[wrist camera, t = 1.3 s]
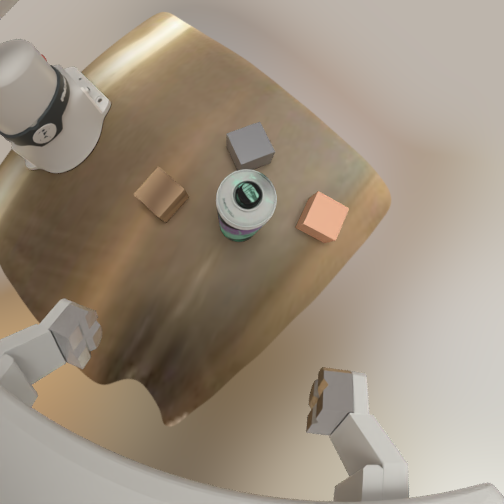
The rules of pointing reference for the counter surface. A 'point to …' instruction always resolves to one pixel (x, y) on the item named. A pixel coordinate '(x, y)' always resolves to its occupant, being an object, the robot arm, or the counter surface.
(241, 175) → the spray can
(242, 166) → the charcoal block
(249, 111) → the counter surface
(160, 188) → the walnut block
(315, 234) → the terracotta block
